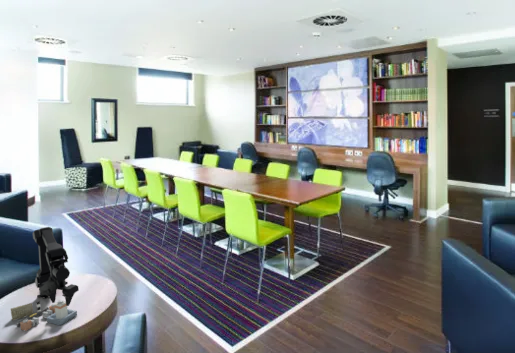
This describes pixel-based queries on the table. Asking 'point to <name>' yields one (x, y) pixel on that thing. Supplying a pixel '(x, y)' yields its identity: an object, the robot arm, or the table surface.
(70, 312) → the tray
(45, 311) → the fuse block
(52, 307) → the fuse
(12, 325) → the table surface
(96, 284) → the table surface
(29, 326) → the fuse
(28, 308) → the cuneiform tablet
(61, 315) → the marked fuse
